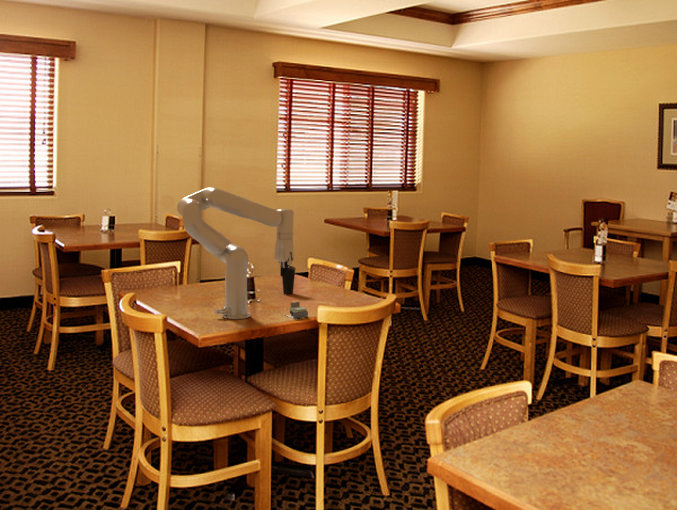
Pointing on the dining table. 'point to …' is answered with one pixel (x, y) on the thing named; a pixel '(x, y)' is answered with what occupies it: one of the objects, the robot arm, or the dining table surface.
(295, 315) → the dock
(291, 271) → the drinking cup
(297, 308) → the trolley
